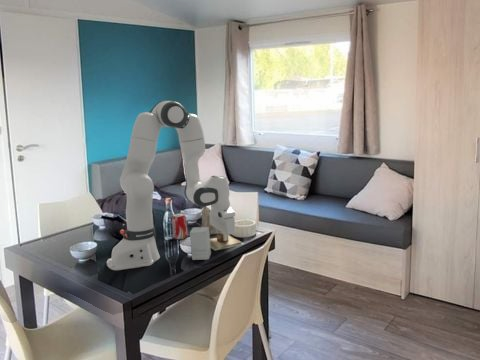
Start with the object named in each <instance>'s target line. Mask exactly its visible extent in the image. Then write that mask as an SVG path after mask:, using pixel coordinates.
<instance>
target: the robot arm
mask: <svg viewBox="0 0 480 360" xmlns="http://www.w3.org/2000/svg"><path fill="white" fill-rule="evenodd" d="M132 127H133V128H132V130H131V131H132V132H131V135H130V142H129V147H128V151H127V157H126V160H125V162H124V165H123V168H122V173H121V175H120V177H119V184H120V187H121V189H122V190H123V192H124V193H125V195H126V207H125V218H126V219H125V220H126V229H125V230H124V229H120V231H119V234H121V235H122V236H123V238H122V239H121V240H120V241H119V242H118V243H117V244H116V245H115V246H113V248H112V251H111V258H107V261H106V266H107V267H108V269H110V270H112V271H122V270H129V269H136V268H142V267H149V266H152V265H153V264H154V263H155V262H157V261H158V260H159V259H160V258H161V256H160V254H159V253H160V252H159V250H158V247H157V242H156V229H155V225H154V219H153V198H154V197H153V196H154V190H155V185H154V182H153V180H152V178H151V177H150V176H149V172H150V169H151V167H152V164H153V162H154V161H155V159H156V158H155V156H156V153H157V147H158V142H159V135H160V132H161V130H162V129H163V128H164V127H166V128H174V129H175V130H176V132H177V135H178V136H177V137H178V141H179V147H180V151H181V155H182V159H183V166H184V173H185V186H184V191H183V193H184V196H185V199H186V200H187V201H188V202H190V203H193V204H194V205H195V206H197V207H201V208H203V207H208V206H210V210H211V211H210V225H211V226H213V227H215V228H216V231H217V234H218V233H223V234H224V235H223V240H224V241H227V236H228V235H232V234H234V232H235V221H236V219H235V217H236V212H235V211H234V210H233V208H232V206H231V202H230V186H229V181H228V179H227V178H226V177H225V176H223V175H211V176H210V177H209V178H208V179H207V180H205V181H204V182H203V183H202V181H201V179H200V169H199V160H200V159H201V157H202V156H203V155H204V154H205V152H206V142H205V135H204V130H203V127H202V123H201V119H200V118H199V116H198V115H196V114H194V113H188V111H187V109H186V108H185V107H184V106H183V105H182V104H181V103H179V102H178V101H172V100H162V101H158V102H157V103H156V104H155V105H154V106H153V107H152V108H151V109H150V111H145V112H141V113H139V114H138V115H137V117H136V118H135V121H134V124H133V126H132ZM221 231H222V232H221ZM217 234H216V235H217Z"/></svg>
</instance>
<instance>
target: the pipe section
mask: <svg viewBox="0 0 480 360" xmlns="http://www.w3.org/2000/svg"><path fill="white" fill-rule="evenodd" d="M256 225H257V223H256V221H255V220H252V219H239V220H235V232H234V234H231V235H232V237H234V238H235V237H236V238H250V237H253V236H255V235H256V234H257V227H256Z"/></svg>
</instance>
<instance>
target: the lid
mask: <svg viewBox="0 0 480 360" xmlns="http://www.w3.org/2000/svg"><path fill="white" fill-rule="evenodd" d="M223 235H224V234H223V232H221V233H218V234H216V237H214V238H210V246H212V247H213V248H215V249H220V248H224V249H226V248H225V247H229V246H234V245H238V244H242V243H243V242H242V241H240V240H239V239H238V238H235V237H234V236H233V235H232V236H231V234H229V235H228V236H227V241H224V240H223ZM238 246H239V245H238ZM234 247H235V246H234ZM229 248H230V247H229ZM220 250H221V249H220Z"/></svg>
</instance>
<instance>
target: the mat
mask: <svg viewBox="0 0 480 360" xmlns="http://www.w3.org/2000/svg"><path fill="white" fill-rule="evenodd" d="M241 245H245V243H244V242H242V244H238V245H234V246H229V247H225V248H220V249H215V248H213V247H212V246H210V249H212V250H214V251H219V250H224V249H229V248H232V247H233V248H234V247H238V246H241Z"/></svg>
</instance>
